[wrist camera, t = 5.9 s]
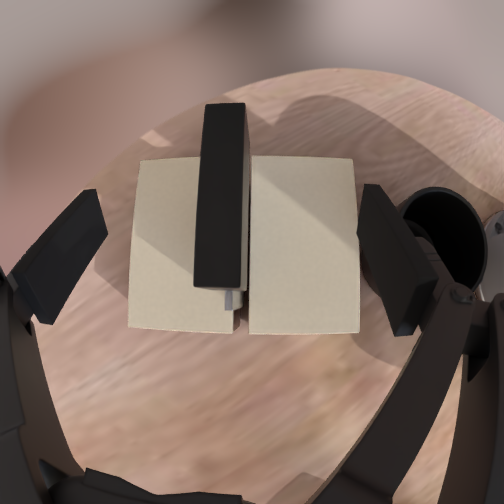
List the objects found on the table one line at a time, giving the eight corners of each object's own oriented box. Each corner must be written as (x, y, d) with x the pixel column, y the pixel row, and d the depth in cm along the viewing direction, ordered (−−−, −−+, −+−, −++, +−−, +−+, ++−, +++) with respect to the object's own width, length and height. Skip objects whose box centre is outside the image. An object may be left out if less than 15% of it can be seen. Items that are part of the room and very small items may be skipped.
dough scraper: (255, 179, 25) (246, 85, 13) (253, 307, 23) (240, 315, 11) (232, 179, 25) (206, 86, 13) (228, 306, 23) (191, 313, 11)
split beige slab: (336, 186, 31) (352, 158, 24) (339, 325, 29) (359, 332, 22) (163, 186, 32) (140, 160, 25) (155, 321, 30) (127, 326, 23)
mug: (439, 326, 28) (490, 332, 19) (345, 283, 30) (377, 276, 21) (463, 247, 29) (514, 231, 20) (377, 199, 31) (413, 165, 22)
